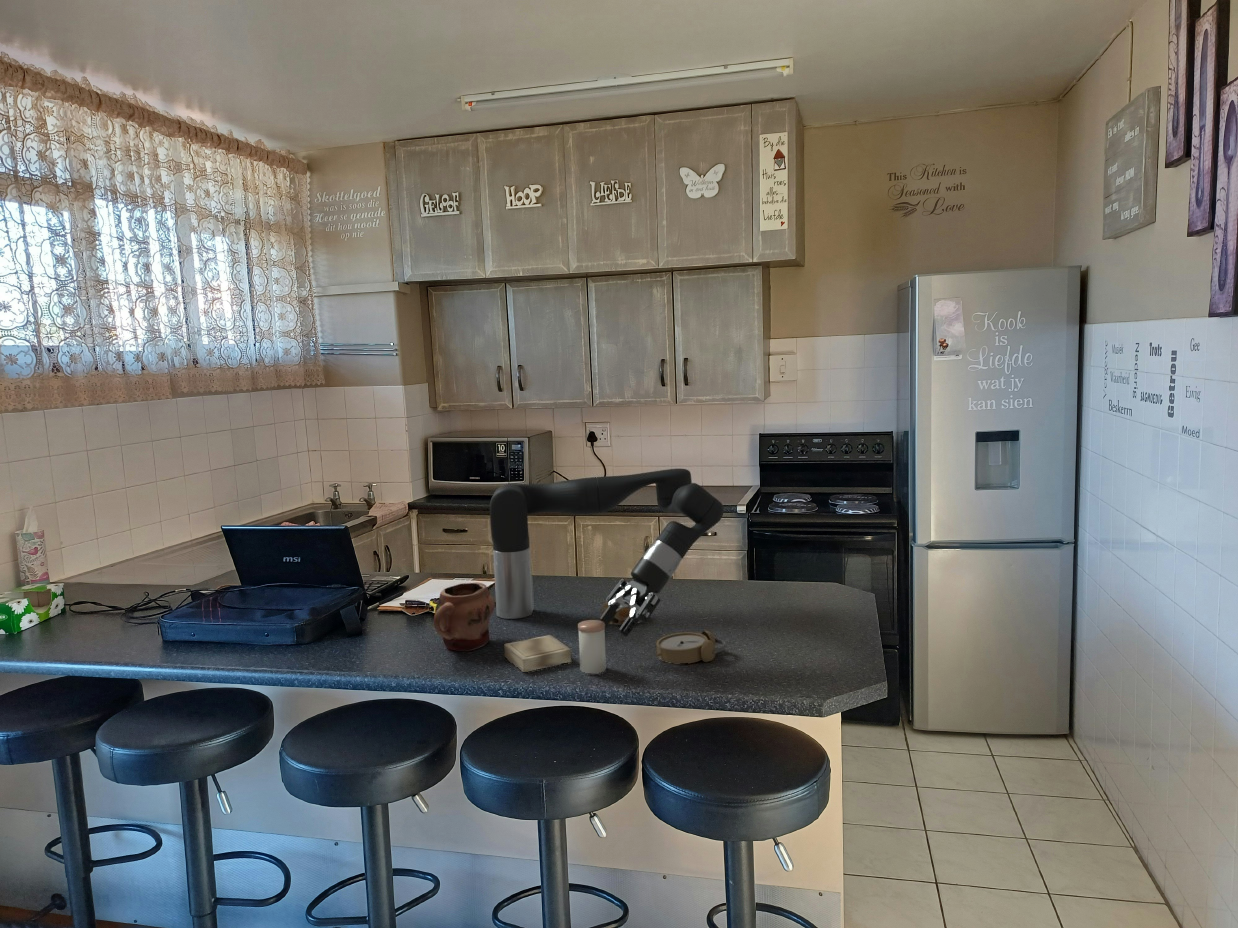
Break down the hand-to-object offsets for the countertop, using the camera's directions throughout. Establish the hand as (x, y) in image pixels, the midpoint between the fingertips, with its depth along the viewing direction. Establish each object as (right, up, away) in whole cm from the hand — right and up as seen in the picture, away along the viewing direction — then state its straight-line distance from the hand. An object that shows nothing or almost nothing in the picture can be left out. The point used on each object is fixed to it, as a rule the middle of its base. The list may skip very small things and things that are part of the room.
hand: (612, 628), depth 176 cm
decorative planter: (-34, -8, +16) cm, 38 cm away
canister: (-4, -9, 0) cm, 10 cm away
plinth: (-16, -8, +7) cm, 19 cm away
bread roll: (+2, -4, +33) cm, 33 cm away
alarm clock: (+17, -8, +7) cm, 20 cm away
